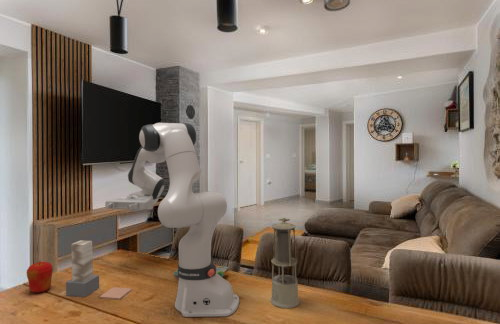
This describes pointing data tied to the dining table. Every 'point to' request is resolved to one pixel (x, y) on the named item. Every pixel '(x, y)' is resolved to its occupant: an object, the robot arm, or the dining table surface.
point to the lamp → (283, 284)
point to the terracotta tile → (116, 293)
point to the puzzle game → (219, 270)
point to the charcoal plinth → (82, 287)
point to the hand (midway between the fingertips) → (118, 207)
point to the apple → (39, 276)
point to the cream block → (82, 260)
